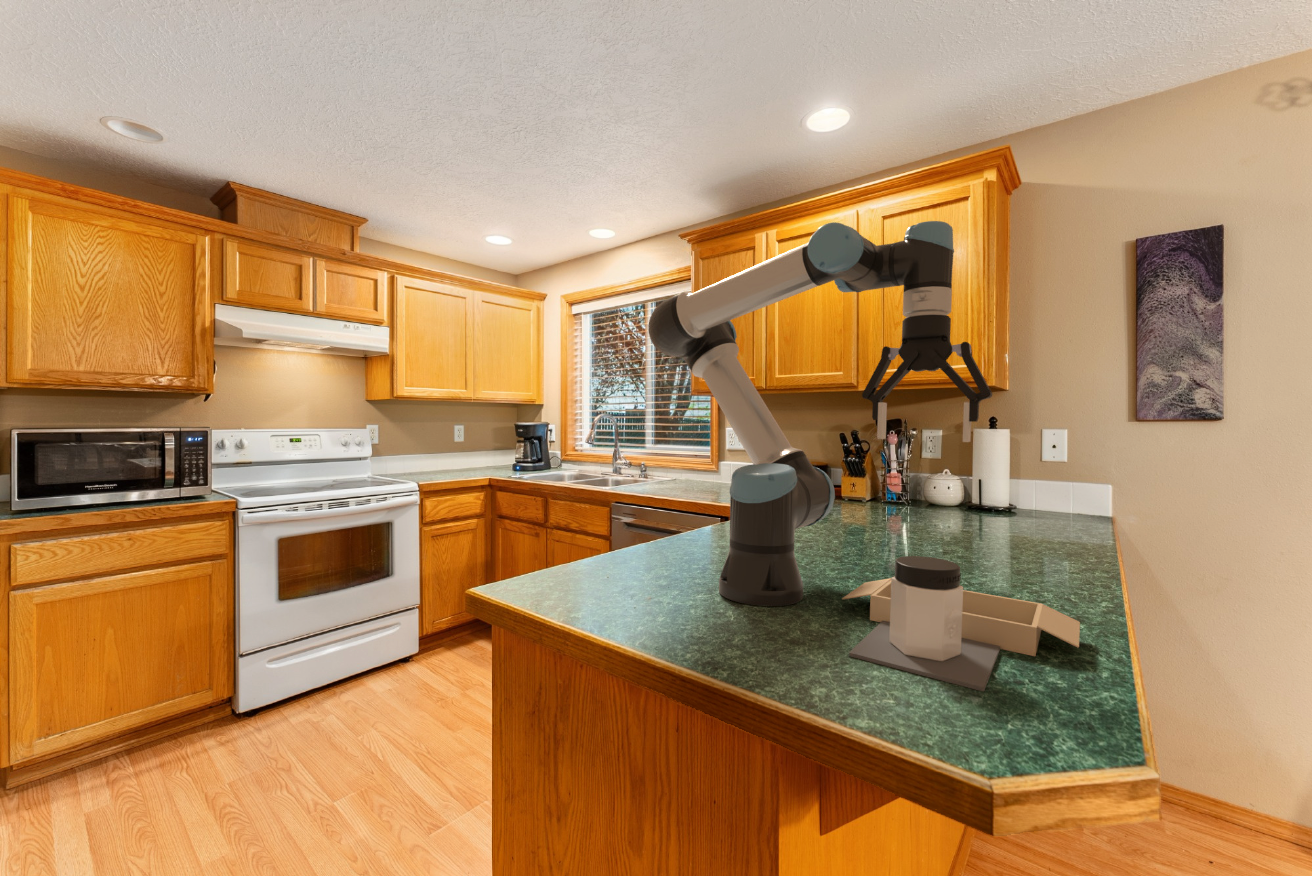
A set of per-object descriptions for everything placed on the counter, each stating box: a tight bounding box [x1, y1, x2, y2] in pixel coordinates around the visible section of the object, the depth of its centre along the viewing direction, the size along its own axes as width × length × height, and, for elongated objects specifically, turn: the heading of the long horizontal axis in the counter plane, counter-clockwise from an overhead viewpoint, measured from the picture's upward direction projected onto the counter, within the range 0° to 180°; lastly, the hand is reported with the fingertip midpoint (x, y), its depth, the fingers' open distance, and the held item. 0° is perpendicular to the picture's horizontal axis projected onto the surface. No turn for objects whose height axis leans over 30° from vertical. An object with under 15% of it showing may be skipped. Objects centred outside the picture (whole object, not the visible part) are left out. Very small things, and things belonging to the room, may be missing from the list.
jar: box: [889, 555, 964, 662], centre depth 79 cm, size 9×8×12 cm
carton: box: [842, 577, 1081, 657], centre depth 90 cm, size 32×13×4 cm, turn 53°
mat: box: [848, 621, 1001, 692], centre depth 79 cm, size 16×16×1 cm
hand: (922, 440), depth 99 cm, fingers open, 13 cm apart
